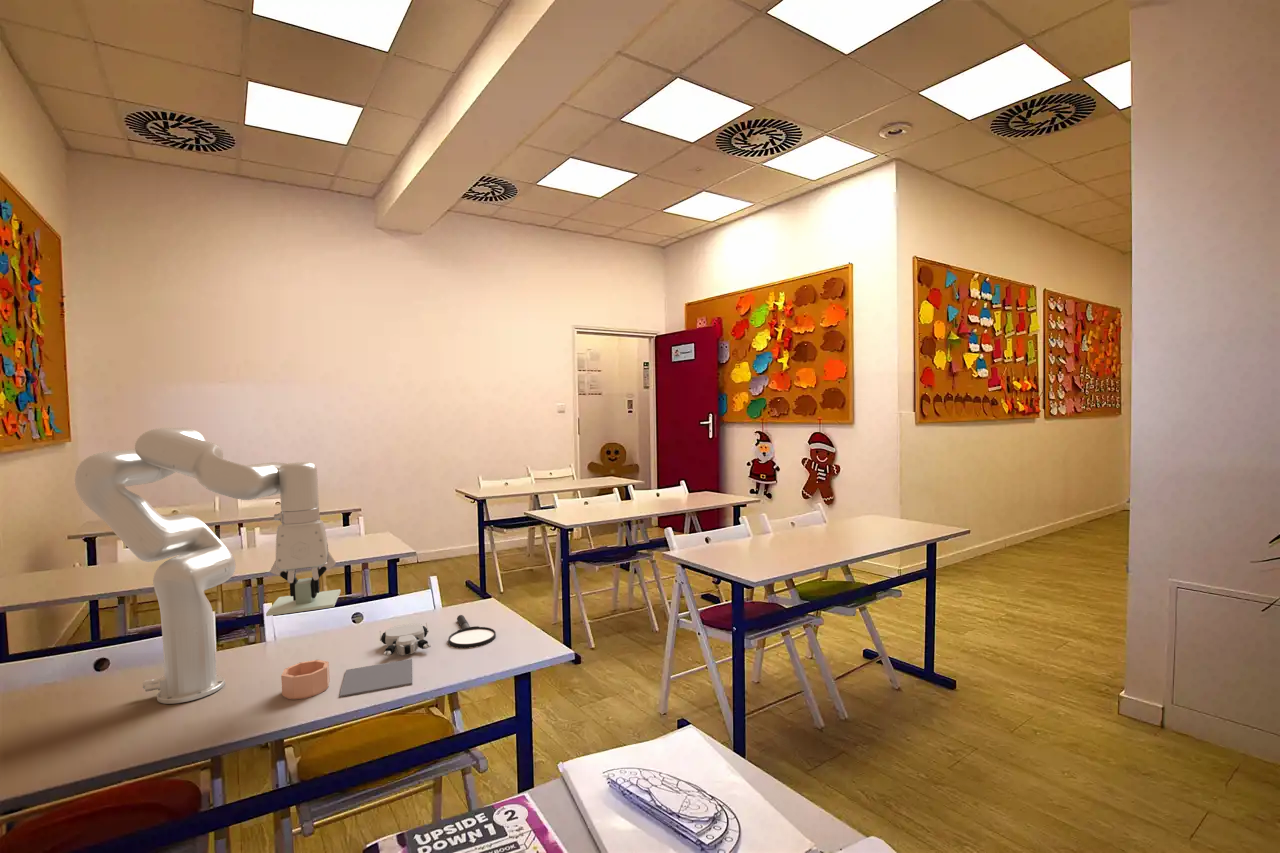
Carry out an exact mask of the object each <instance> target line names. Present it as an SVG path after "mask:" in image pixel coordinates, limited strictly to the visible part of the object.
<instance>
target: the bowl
mask: <svg viewBox="0 0 1280 853" xmlns="http://www.w3.org/2000/svg"><path fill="white" fill-rule="evenodd" d="M280 677H281V696H282V697H284V698H285V699H287V700H303V699H308V698H311V697H315V696H317V695H319V694H322V693H324V692H326V690H328V688H329V686H330V682H331V681H330V680H331V679H330V677H331V676H330V662H329V661H327V660H321V659H313V660H308V661H307V660H306V661H301V662H297V663H296V664H293V665H290V666H287V667H286V668H284V669H283V671H282V674H281V676H280Z"/></svg>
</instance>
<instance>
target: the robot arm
mask: <svg viewBox="0 0 1280 853" xmlns="http://www.w3.org/2000/svg"><path fill="white" fill-rule="evenodd" d="M175 473H178V474H181V475H184V476H187V477H190V478H194V479H196V480H197V482H198V483H199V484H201V486H203V487H204V488H205V489H206V490H208V491H209V492H213V493H215V494H219V495H221V496H225V497H229V498H233V499H236V500H240V501H241V500H242V501H249V500H256V499H261V498H265V497H266V498H267V497H272V496H275V495H279V496H280V512H279V513H275V514H274V515H273V520H274V521H280V524H279V525H277V529H276V535H275V536H276V537H275V561H274V563H273V564H272V566H271V569H270V570H269V571H270V573H271V574H273V575H276V576H280V577H281V578H282V579H284V580H285V581H286V582H287V583H288V584H289V596H293V600H294V601H295V600H296V596H295V584H296V583H297V582H298V580H299V579H298V577H297V570H302V569H311V576H312V577H311V578H312V580H311V595H312V598H315V597H316V595H317V593H319V592H321V591H320V578H321V577H322V576H323V574H324V573H325V572H327V571H328V570H330V569H332V568H333V567H335V566H336V564H337V561H335V559H334V558H333V556H332V555H331V553H330V552H329V544H328V539H327V538H328V537H327V532H326V528H325V527H326V526H325V523H324V521H323V520H321V519H320V500H319V485H318V469H317V466H316V464H315V463H314V462H308V461H304V462H290V463H289V462H288V463H285V462H277V461H276V462H275V461H274V462H265V463H264V462H263V463H255V464H247V465H245V464H240V463H237V462H233V461H230V460H226V459H224V453H223V450H222V448H221V446H220V445H218V444H216V443H214V442H210V441H207V440H206V438H205V437H204V435H203V434H202V433H200V432H199V431H198V430H196V429H193V428H189V427H171V428H170V427H169V428H168V427H164V428H163V427H162V428H155V429H149V430H148V431H145V432H144V433H142V434H141V435H140V436H139V437H137V439H136V441H135V443H134V449H122V450H109V451H101V452H98V453H96V454H91V455H89V456H88V457H86V458H84V459H83V460H82V461H80V463H79V464H78V466H77V467H76V470H75V476H74V486H75V490H76V492H77V495H78V497H79V499H80V500H81V501H82V502H83V503H84V505H85V506H86V507H87V508H88V509H89V510H91V512H93V513H94V514H95V515H96V516H97V517H99V518H100V519H101V520H102V521H103V522H104V523H106V525H107V526H108V528H110V529H111V530H112V532H113V533H114V534H115V535H116V536H117V537H118V538H119V539H120V541H121V542H123V543H124V545H125V546H126V547H127V548H128V549H129V550H130V551H131V553H132V554H133V555H134V556H136V558H138V559H139V560H141V561H143V562H148V563H149V562H151V563H152V562H158V561H162V560H165V559H167V560H166V561H164V562H162V563H161V564H160V565H159V566H158V567H157V568H156V570H155V572H154V575H153V578H152V585H153V589H154V592H155V596H156V598H157V601H158V605H159V606H158V607H159V611H160V612H159V614H160V621H161V622H160V623H161V624H160V625H161V635H162V637H161V638H162V639H161V640H162V654H163V672H164V675H162V676H161V677H159V678H150V679H145V680H143V682H142V689H143V690H144V691H145V692H151V691H152V692H153V691H158V692H157V694H156V700H157V702H158V703H161V704H164V705H166V704H168V705H171V704H174V705H175V704H181V703H187V702H190V701H195V700H198V699H202V698H206V697H208V696H210V695H212V694H214V693H216V692H218V691H219V690H221V689H222V688H223V687H224V686H225V683H226V680H225V677H224V676H222V675H219V674H217V663H216V662H217V660H216V658H217V657H216V644H215V624H214V612H213V607H212V604H211V603H210V601H209V599H208V598H207V596H206V594H205V591H207V590H209V589H211V588H214V587H217V586H219V585H222V584H223V583H225V582H227V581H229V580H230V579H231V578H232V577H233V575H234V574H235V572H236V566H237V565H236V560H235V557H234V554H232V552H231V550H230V548H228V547H227V546H226V544H225V543H224V542H223V541H222V540H221V539H220V538H219V537H218V536H217V535H216V533H215V532H214V531H213V530H212V529H211V528H210V527H209V525H207V524H206V523H205V522H204V521H203V520H202V519H200V518H199V517H196V516H194V515H192V514H187V513H186V514H183V513H181V514H175V515H169V516H164V515H162V514H160V513H159V512H158V511H157V510H156V509H155V508H154V507H153V506H152V505H151V503H150V502H149V501H148V500H147V499H145V498H144V497H142V496H141V495H138V494H137V493H135V492H132V491H130V490H129V489H128V488H127V487H133V486H140V485H147V484H153V483H156V482H158V481H161V480H163V479H165V478H168V477H169V476H171V475H173V474H175Z"/></svg>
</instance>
